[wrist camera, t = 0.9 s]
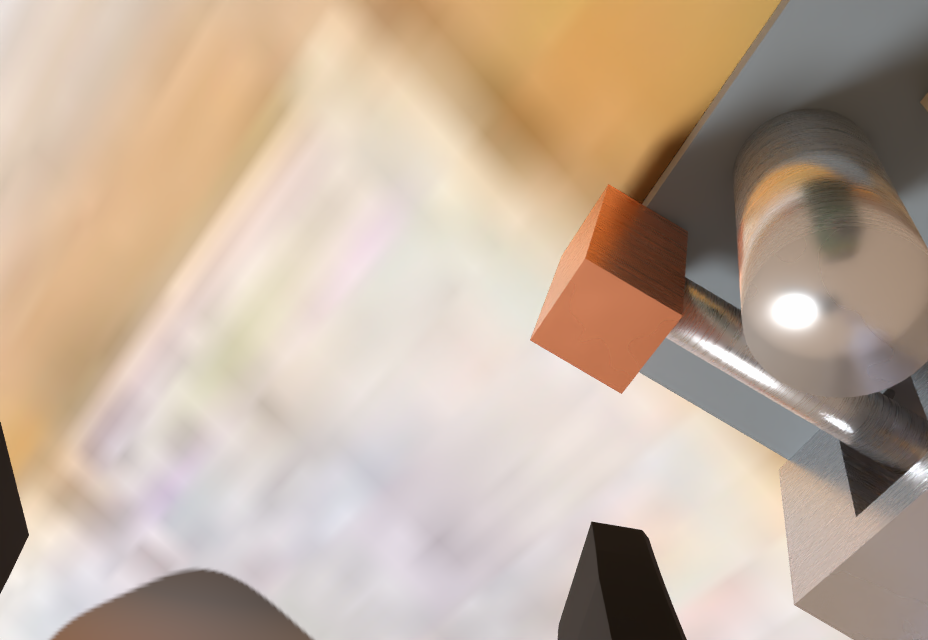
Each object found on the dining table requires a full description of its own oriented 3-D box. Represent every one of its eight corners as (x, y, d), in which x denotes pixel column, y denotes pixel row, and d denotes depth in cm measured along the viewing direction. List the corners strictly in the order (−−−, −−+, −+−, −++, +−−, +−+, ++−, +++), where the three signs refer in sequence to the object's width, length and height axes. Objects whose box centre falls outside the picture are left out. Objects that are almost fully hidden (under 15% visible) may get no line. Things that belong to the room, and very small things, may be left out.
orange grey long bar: (1058, 451, 21) (1135, 584, 17) (988, 507, 22) (1046, 643, 18) (608, 184, 20) (585, 257, 17) (561, 255, 21) (529, 339, 18)
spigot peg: (905, 153, 19) (997, 293, 13) (815, 259, 20) (858, 428, 14) (788, 82, 19) (823, 190, 13) (707, 194, 20) (704, 336, 14)
